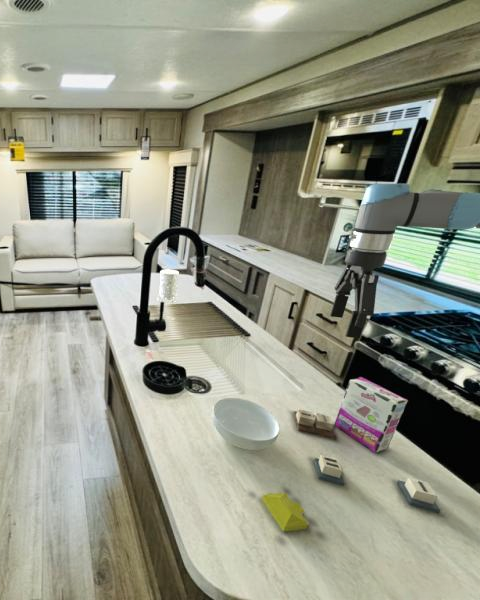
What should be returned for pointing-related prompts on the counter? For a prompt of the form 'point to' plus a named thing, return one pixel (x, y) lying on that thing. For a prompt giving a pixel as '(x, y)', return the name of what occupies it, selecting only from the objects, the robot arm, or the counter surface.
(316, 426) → the cream block pair
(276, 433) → the cereal bowl
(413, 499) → the cream blocks on trays
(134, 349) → the counter surface
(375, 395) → the candy bar box
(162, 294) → the decorative container
